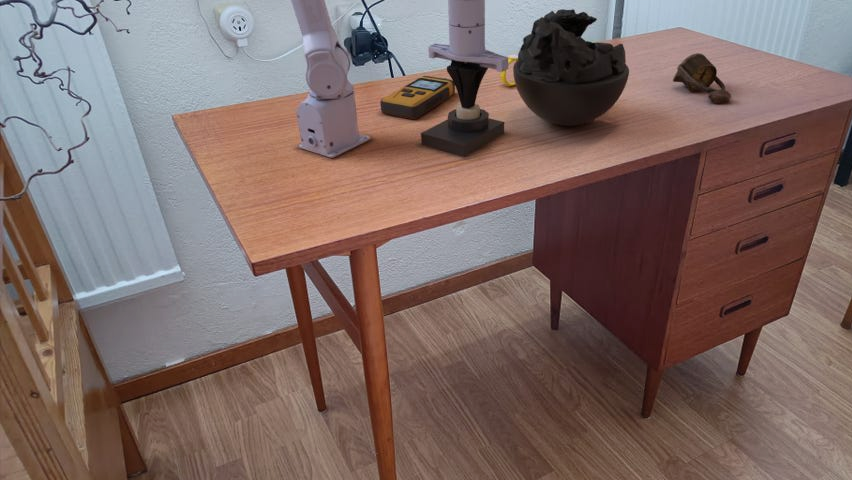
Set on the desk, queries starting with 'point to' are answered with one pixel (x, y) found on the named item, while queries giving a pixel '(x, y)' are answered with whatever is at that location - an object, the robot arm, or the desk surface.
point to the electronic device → (418, 97)
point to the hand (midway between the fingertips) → (468, 106)
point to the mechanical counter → (701, 77)
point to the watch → (502, 74)
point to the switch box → (462, 134)
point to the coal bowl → (568, 70)
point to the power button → (468, 112)
